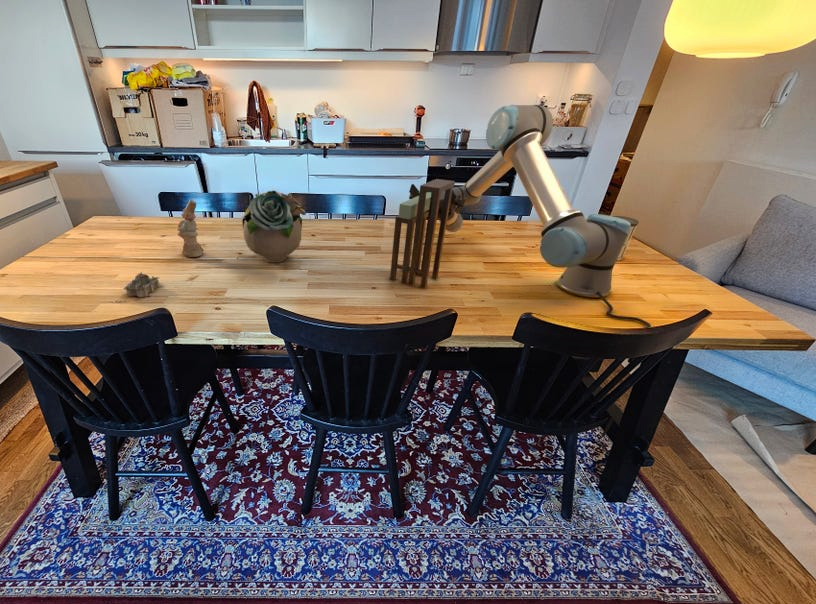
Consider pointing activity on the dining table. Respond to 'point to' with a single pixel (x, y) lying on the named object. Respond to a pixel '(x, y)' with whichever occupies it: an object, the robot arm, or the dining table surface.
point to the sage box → (412, 207)
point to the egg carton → (142, 285)
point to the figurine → (189, 231)
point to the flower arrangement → (273, 225)
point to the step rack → (422, 234)
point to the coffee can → (630, 234)
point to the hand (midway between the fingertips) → (429, 190)
